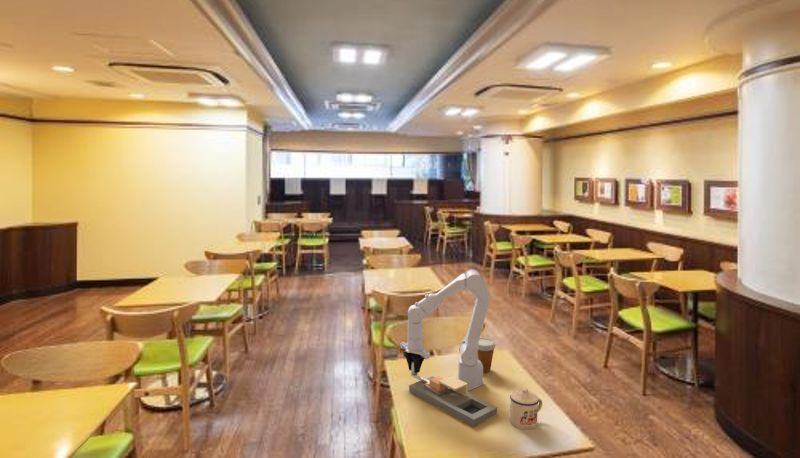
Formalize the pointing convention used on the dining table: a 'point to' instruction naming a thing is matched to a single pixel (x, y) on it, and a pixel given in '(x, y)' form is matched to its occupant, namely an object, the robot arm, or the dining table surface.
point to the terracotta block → (435, 383)
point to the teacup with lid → (524, 408)
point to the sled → (427, 382)
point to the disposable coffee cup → (486, 353)
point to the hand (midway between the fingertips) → (414, 371)
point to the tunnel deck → (456, 401)
